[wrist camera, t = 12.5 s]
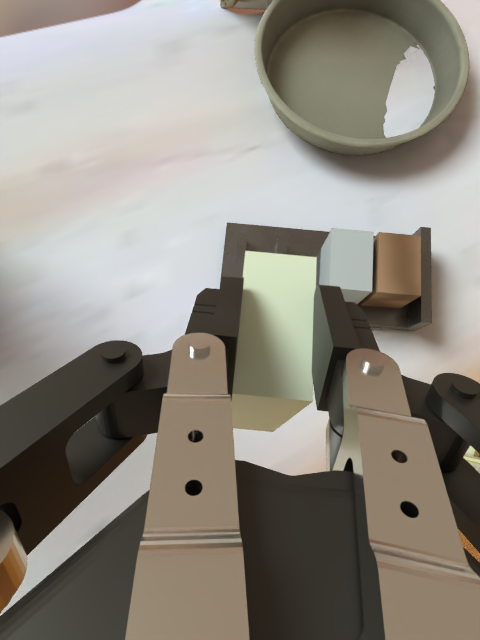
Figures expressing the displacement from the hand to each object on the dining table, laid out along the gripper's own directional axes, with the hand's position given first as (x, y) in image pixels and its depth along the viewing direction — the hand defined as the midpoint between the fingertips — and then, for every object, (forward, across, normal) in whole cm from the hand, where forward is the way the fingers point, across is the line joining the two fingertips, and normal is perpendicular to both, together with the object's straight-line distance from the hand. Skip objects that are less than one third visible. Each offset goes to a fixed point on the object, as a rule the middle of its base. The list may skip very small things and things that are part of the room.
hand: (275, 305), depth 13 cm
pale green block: (+6, 0, +10) cm, 12 cm away
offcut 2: (+27, -13, +11) cm, 32 cm away
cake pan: (+46, -9, -6) cm, 48 cm away
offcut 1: (+27, -9, +11) cm, 30 cm away
